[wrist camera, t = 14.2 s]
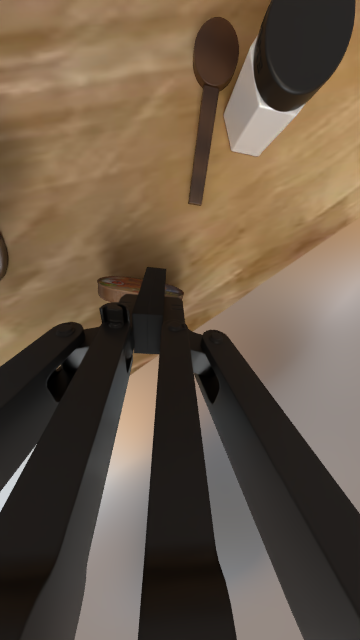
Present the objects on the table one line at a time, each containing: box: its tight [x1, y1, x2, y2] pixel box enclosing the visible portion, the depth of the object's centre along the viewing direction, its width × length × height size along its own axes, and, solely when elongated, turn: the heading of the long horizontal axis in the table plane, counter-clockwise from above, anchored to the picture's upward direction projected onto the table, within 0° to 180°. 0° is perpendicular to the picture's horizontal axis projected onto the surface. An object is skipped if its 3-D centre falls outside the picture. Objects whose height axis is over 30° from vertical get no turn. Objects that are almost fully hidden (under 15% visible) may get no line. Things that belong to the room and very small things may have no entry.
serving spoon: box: [189, 17, 239, 206], centre depth 26 cm, size 20×6×1 cm, turn 172°
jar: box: [224, 0, 355, 156], centre depth 21 cm, size 9×8×12 cm
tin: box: [97, 276, 184, 302], centre depth 31 cm, size 15×3×8 cm, turn 79°
